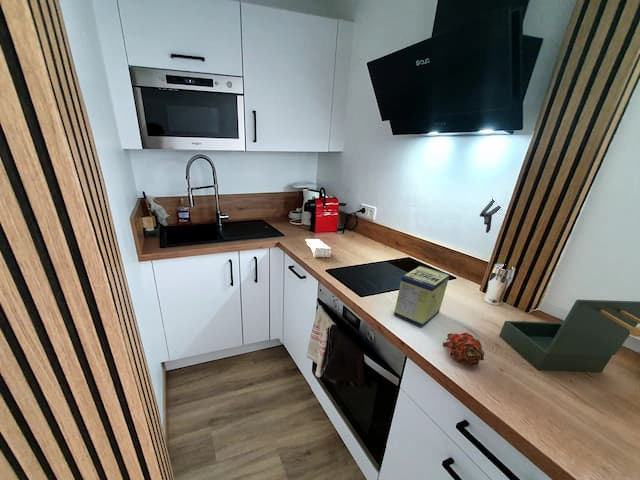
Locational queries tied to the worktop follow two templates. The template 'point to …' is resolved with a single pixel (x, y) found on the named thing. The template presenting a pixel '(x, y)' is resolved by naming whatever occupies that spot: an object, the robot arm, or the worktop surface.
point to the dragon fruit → (465, 348)
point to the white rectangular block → (318, 248)
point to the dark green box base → (535, 342)
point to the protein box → (421, 295)
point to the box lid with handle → (597, 327)
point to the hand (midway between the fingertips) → (508, 233)
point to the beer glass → (498, 284)
